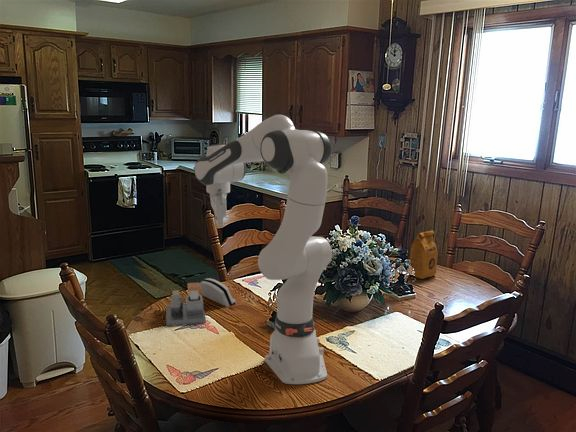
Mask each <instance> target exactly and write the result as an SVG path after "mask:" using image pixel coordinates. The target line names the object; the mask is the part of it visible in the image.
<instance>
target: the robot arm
mask: <svg viewBox="0 0 576 432" xmlns="http://www.w3.org/2000/svg"><path fill="white" fill-rule="evenodd" d="M331 152H332V144H331V142H330V138H328V136H327V135H326V133H323V132H321V131H318V130H313V129H307V128H305V129H296V127H295V125H294V122H293V121H292V119H290V118H289V116H286V115H283V114H274V115H272V116H270V117H267V118H265V119H264V120H263V121H261V122H260V123H258V124H257V125H256V126H255V127H253V128H252V129H250V130H249V131H248V132H246V133H244V134H243V135H241V136H240V137H238V138H236V139H235V140H233V141H231V142H228V143H226V144H224V143H217V144H211V145H209V146H208V147H207V149H206V155H203V156H200V157H199V158H198V159H197V161H196V163H194V167H193V169H194V170H193V171H194V176H195V178H196V179H197V181H198V182H200V183H201V184H202V185H203V186H205V189H206V193H207V194H209V199H210V205H211V208H212V210H213V214H214V221H216V222H217V226H218V228H222V227H223V226H224V224H223V223H224V218H226V217H227V216H228V215H227V213H228V210H227V196H228V194H229V193H230V192H231V183H236V182H239V181H240V182H241V181H242V180H243V179H244V178H245V176H246V174H247V173H246V172H247V164H248V163H259V162H265V164H266V165H268V167H270V168H272V169H274V170H276V172H278V173H279V174H280V175H283V174H286V173H288V175H289V179H290V181H289V187H288V193H287V198H286V199H287V200H286V204H285V209H284V214H283V218H282V220H281V223H280V226H279V228H278V230H277V232H276V233H275V235H274V236H273V237H272V239H271V241H270V242H269V243H268V244H267V245H266V246H265V247H264V248H262V250H261V251H260V252H259V254H258V260H257V265H258V269H259V271H260V273H261V274H262V275H263V277H264V278H265V279H267V280H268V281H269V280H271V281H278V280H279V281H280V280H281V281H282V280H286V281H285V282H284V283H283V284H282V286H281V287H280V288H279V290H278V292H277V295H276V299H277V300H276V303H277V304H276V315H275V318H274V323H275V324H274V327H275V329H274V331H273V332H272V333H271V334H270V339H269V340H270V341H269V353H268V354H266V355H265V356H264V359H263V360H264V362H265V363H266V365H267V366H268V367H269V368H270V369H271V371H273V372H274V374H275V375H276V376H277V378H278V379H279V380H280V381H281V382H282V383H284V384H287V385H306V384H307V385H308V384H314V383H319V382H321V381H324V380H325V379H327V378H328V372H327V368H326V365H325V364H326V363H325V359H324V353H325V350H324V347H321V346H319V343H320V338H319V337H317V334H316V333H317V330H316V329H315V320H314V315H313V307H314V298H315V297H314V296H315V291H316V287H317V285H318V282H319V279H320V277H321V275H322V274H323V272H324V270H325V268H326V267H327V266H328V265H329V264H330V262H331V261H332V258H333V249H332V246H331V244H330V242H329V240H327V239H326V238H325V237H323V236H313V235H314V234H315V233H317V231H319V229H320V227H321V225H322V221H323V215H324V211H325V206H326V205H325V204H326V200H327V195H328V194H327V193H328V177H329V176H328V170H327V168H326V166H324V164H325V163H326V162H327V161H328V160H329V158H330V157H331ZM246 163H247V164H246Z"/></svg>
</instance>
